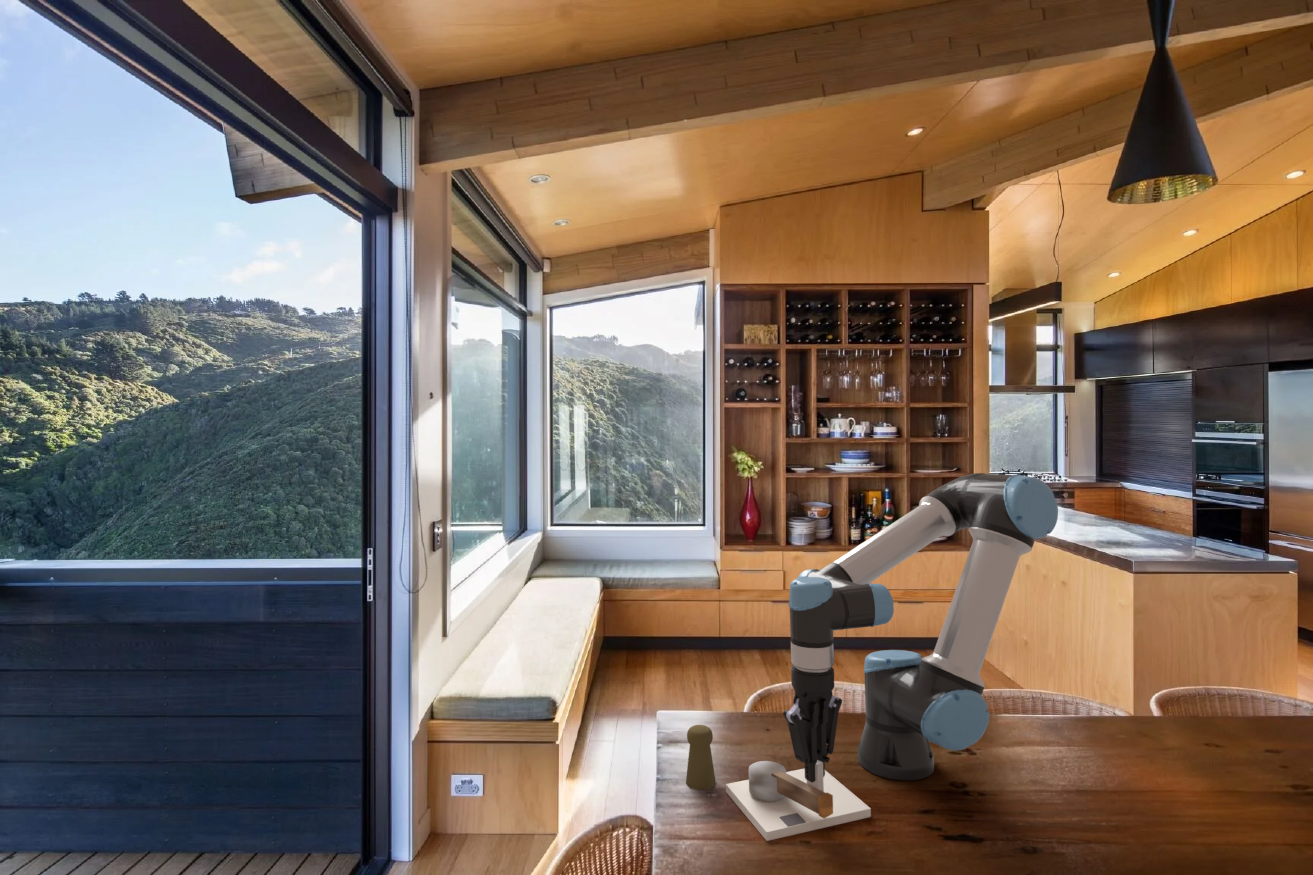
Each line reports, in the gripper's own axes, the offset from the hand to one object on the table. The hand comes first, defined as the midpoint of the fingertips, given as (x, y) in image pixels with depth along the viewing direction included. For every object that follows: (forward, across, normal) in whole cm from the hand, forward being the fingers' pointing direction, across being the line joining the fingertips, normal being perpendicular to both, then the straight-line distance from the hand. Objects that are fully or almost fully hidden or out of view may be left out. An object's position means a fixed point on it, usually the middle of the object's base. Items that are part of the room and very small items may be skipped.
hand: (815, 796), depth 120 cm
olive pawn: (+5, +8, -23) cm, 25 cm away
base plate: (+4, -1, -6) cm, 8 cm away
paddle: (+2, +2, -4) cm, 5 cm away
